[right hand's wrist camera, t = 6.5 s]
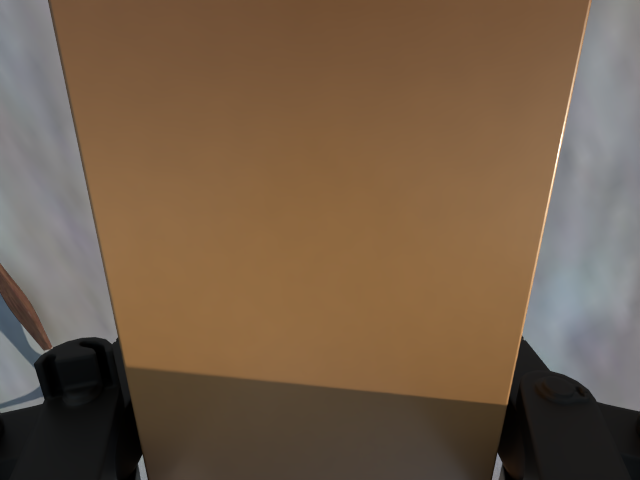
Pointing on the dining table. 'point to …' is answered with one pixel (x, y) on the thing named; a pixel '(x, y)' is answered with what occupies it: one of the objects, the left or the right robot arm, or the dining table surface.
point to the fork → (22, 309)
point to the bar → (319, 221)
